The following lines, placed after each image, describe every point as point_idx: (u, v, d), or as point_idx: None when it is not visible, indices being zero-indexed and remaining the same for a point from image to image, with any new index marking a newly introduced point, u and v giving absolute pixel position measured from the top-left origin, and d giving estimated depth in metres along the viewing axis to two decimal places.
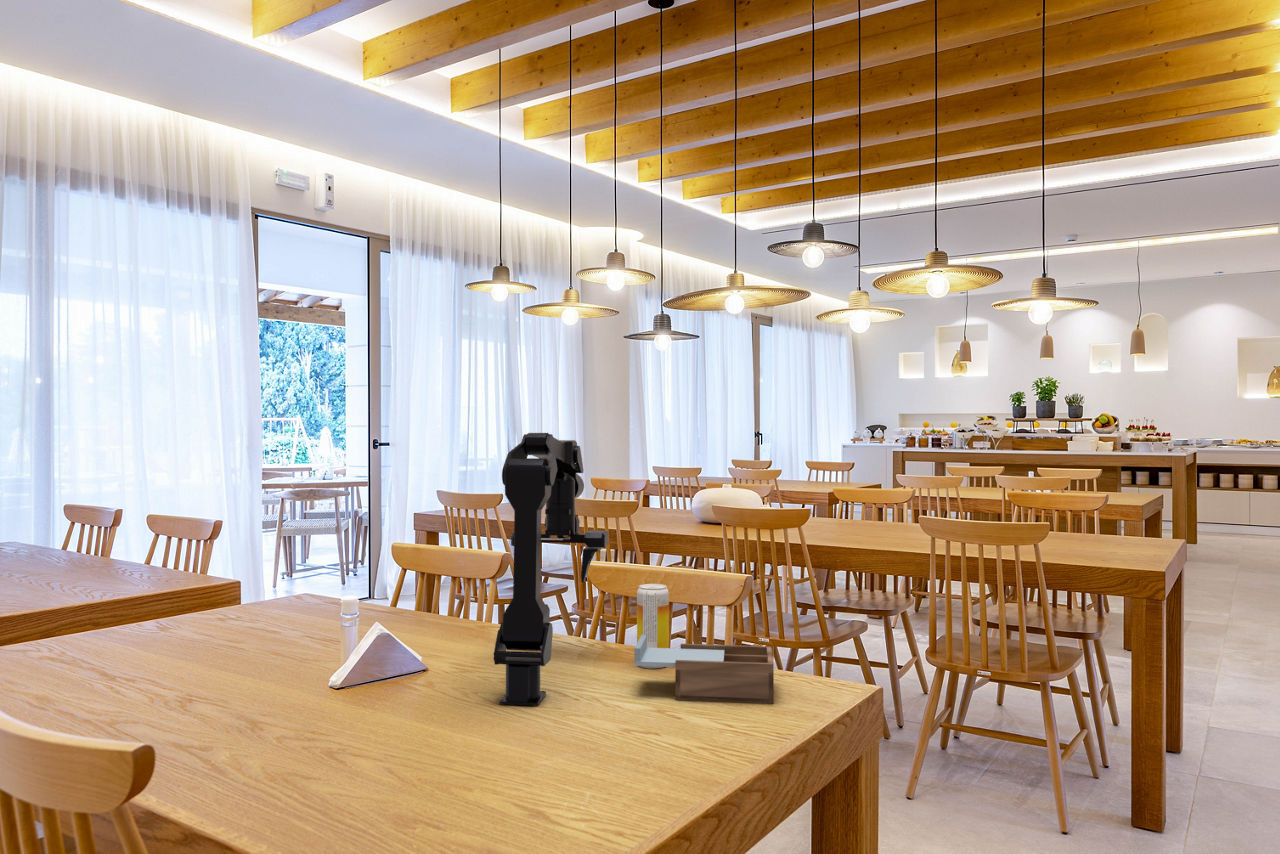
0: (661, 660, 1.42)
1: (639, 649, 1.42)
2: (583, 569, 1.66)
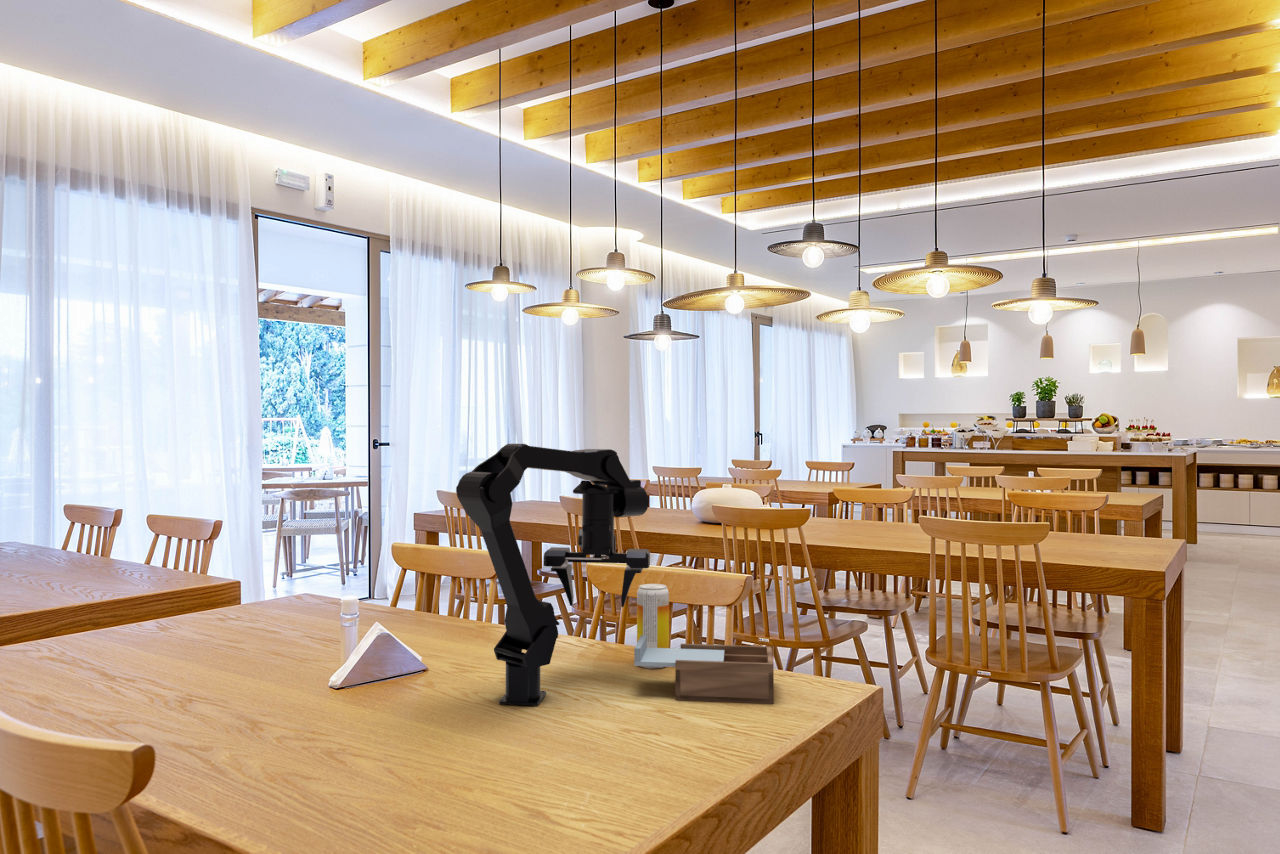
0: (661, 660, 1.42)
1: (639, 649, 1.42)
2: (624, 592, 1.50)
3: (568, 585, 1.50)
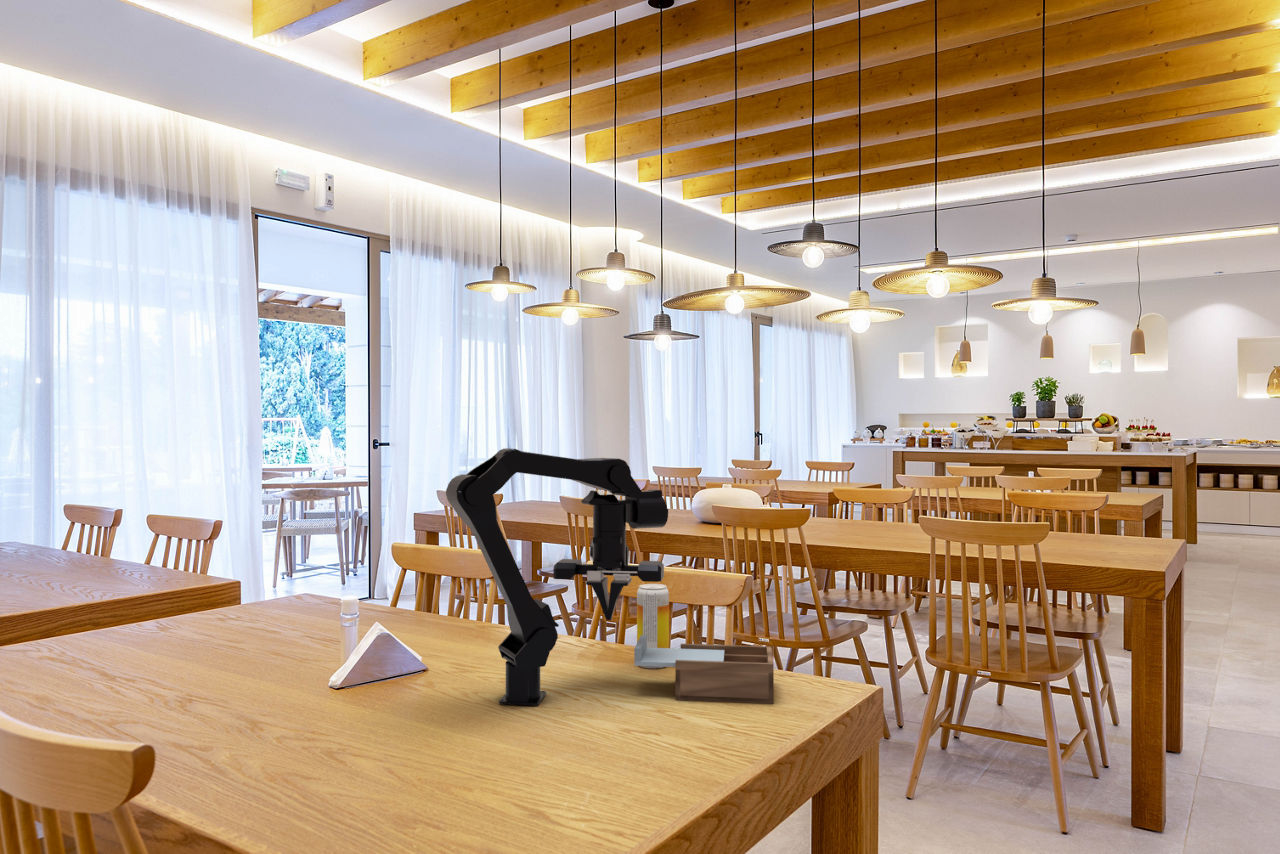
0: (661, 660, 1.42)
1: (639, 649, 1.42)
2: (610, 605, 1.45)
3: (604, 599, 1.45)
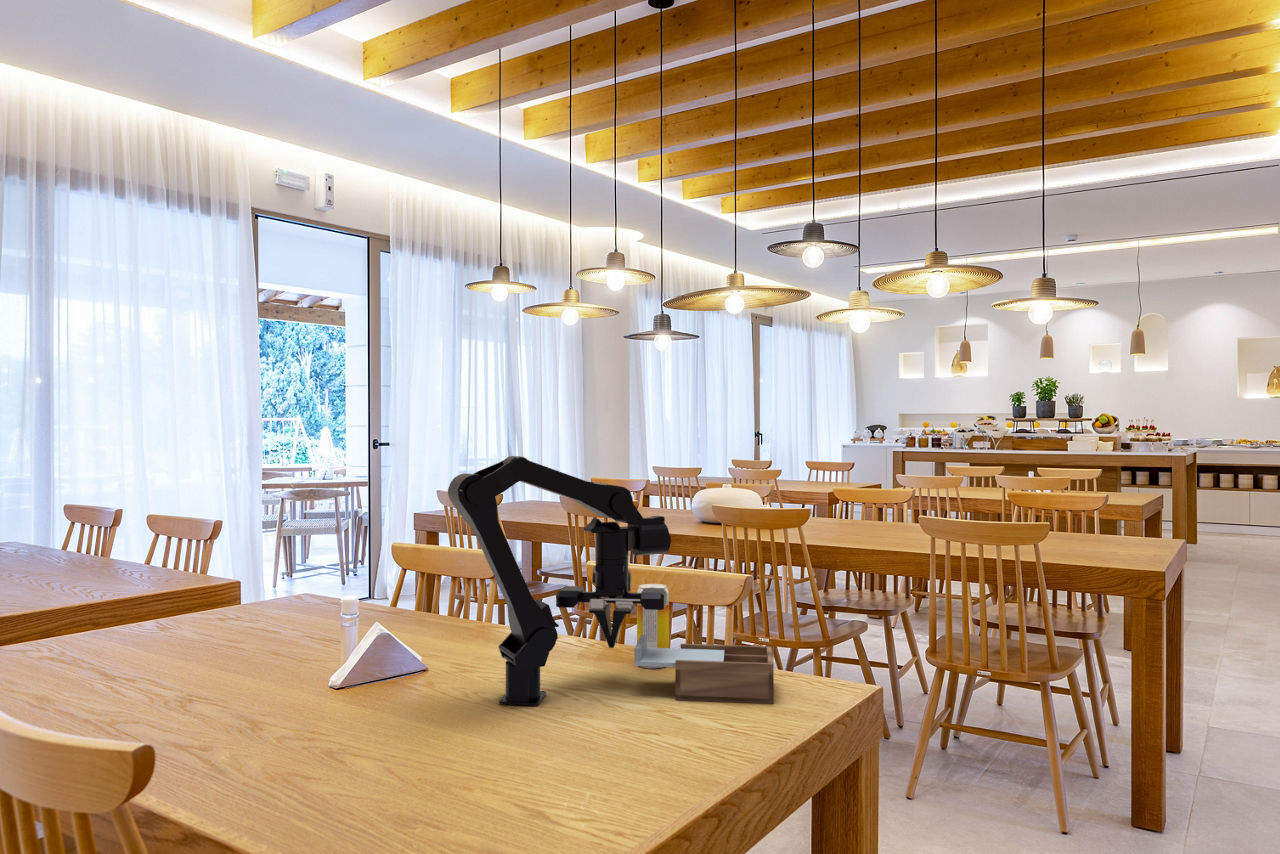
0: (661, 660, 1.42)
1: (639, 649, 1.42)
2: (613, 633, 1.45)
3: (607, 627, 1.45)
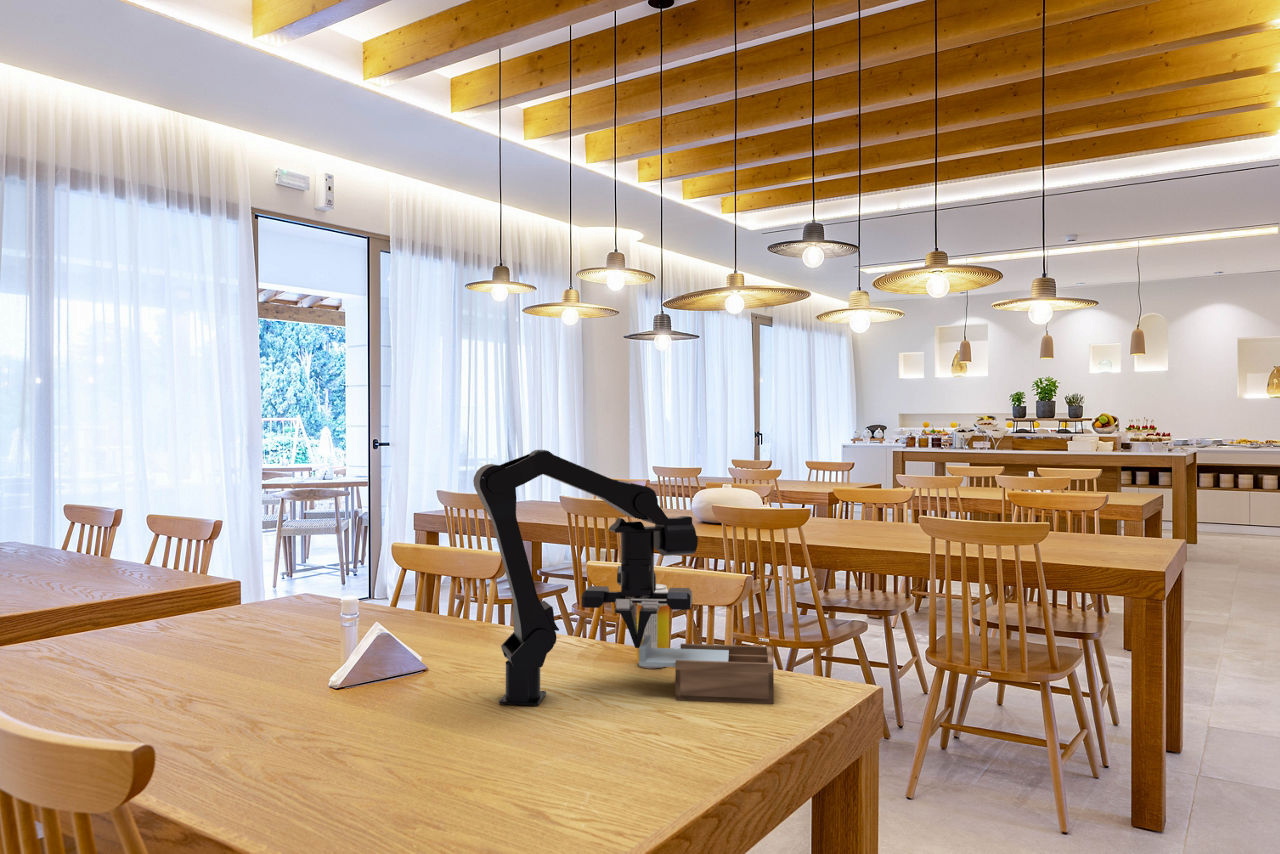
0: (666, 660, 1.42)
1: (644, 649, 1.41)
2: (639, 633, 1.45)
3: (633, 627, 1.45)
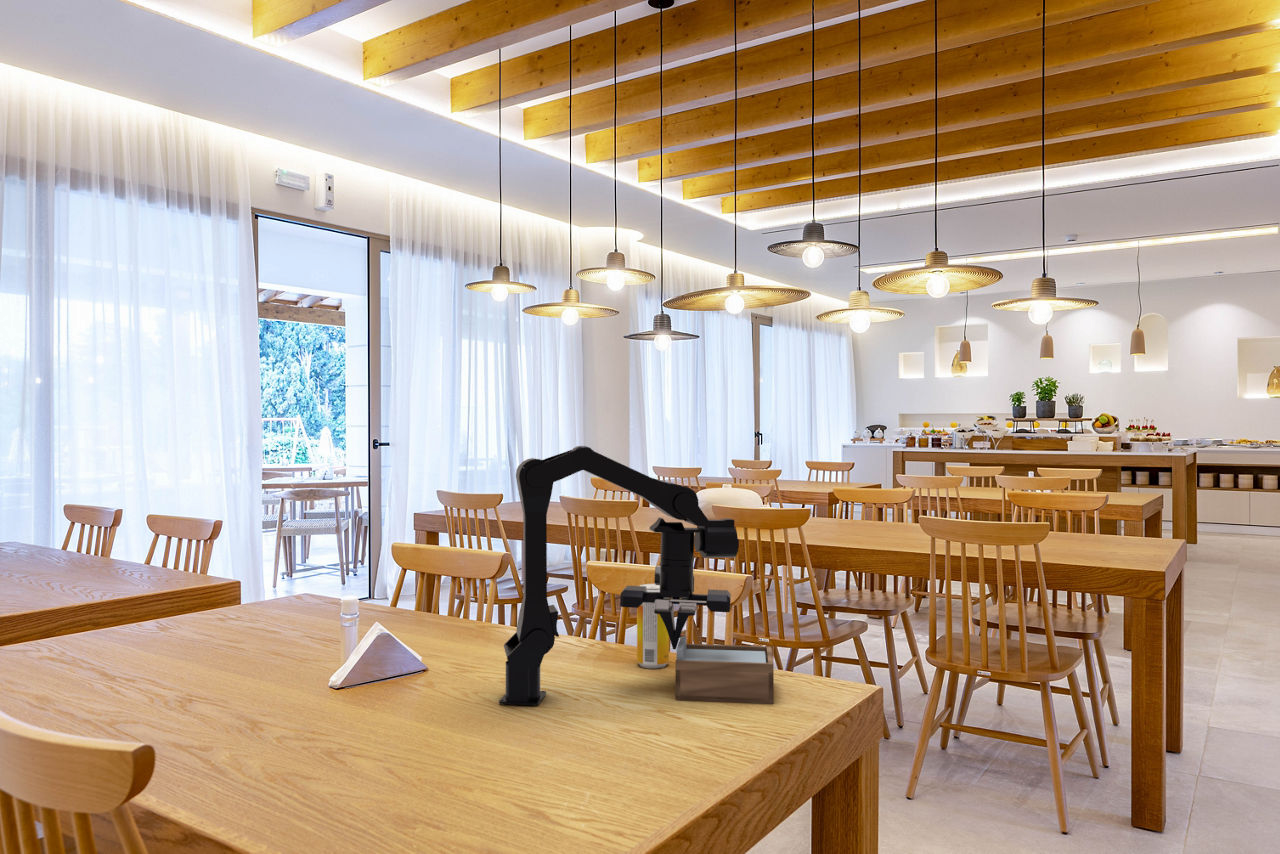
0: None
1: (681, 650, 1.41)
2: (676, 634, 1.44)
3: (672, 628, 1.44)
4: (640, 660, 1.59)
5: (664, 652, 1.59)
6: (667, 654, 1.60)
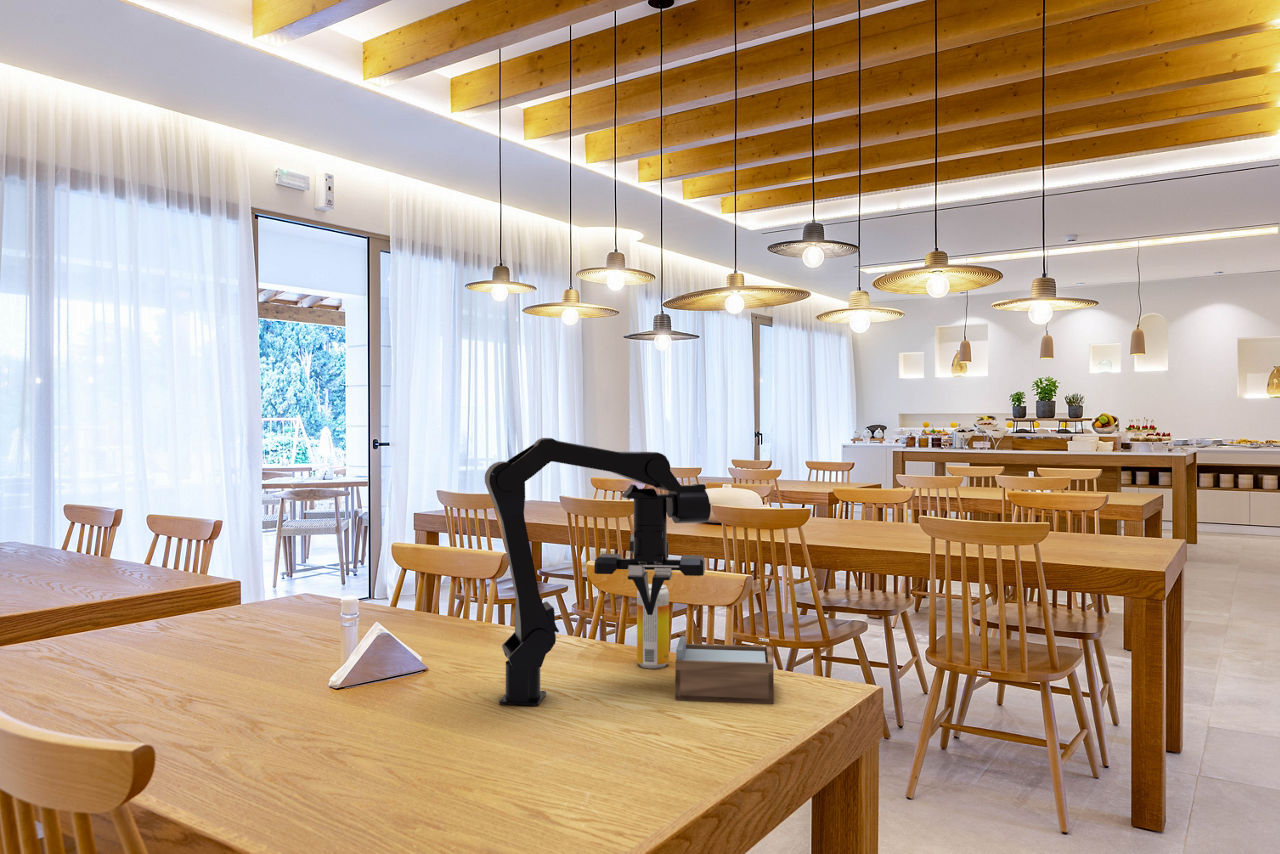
0: None
1: (681, 650, 1.41)
2: (652, 600, 1.45)
3: (645, 594, 1.44)
4: (640, 660, 1.59)
5: (664, 652, 1.59)
6: (667, 654, 1.60)
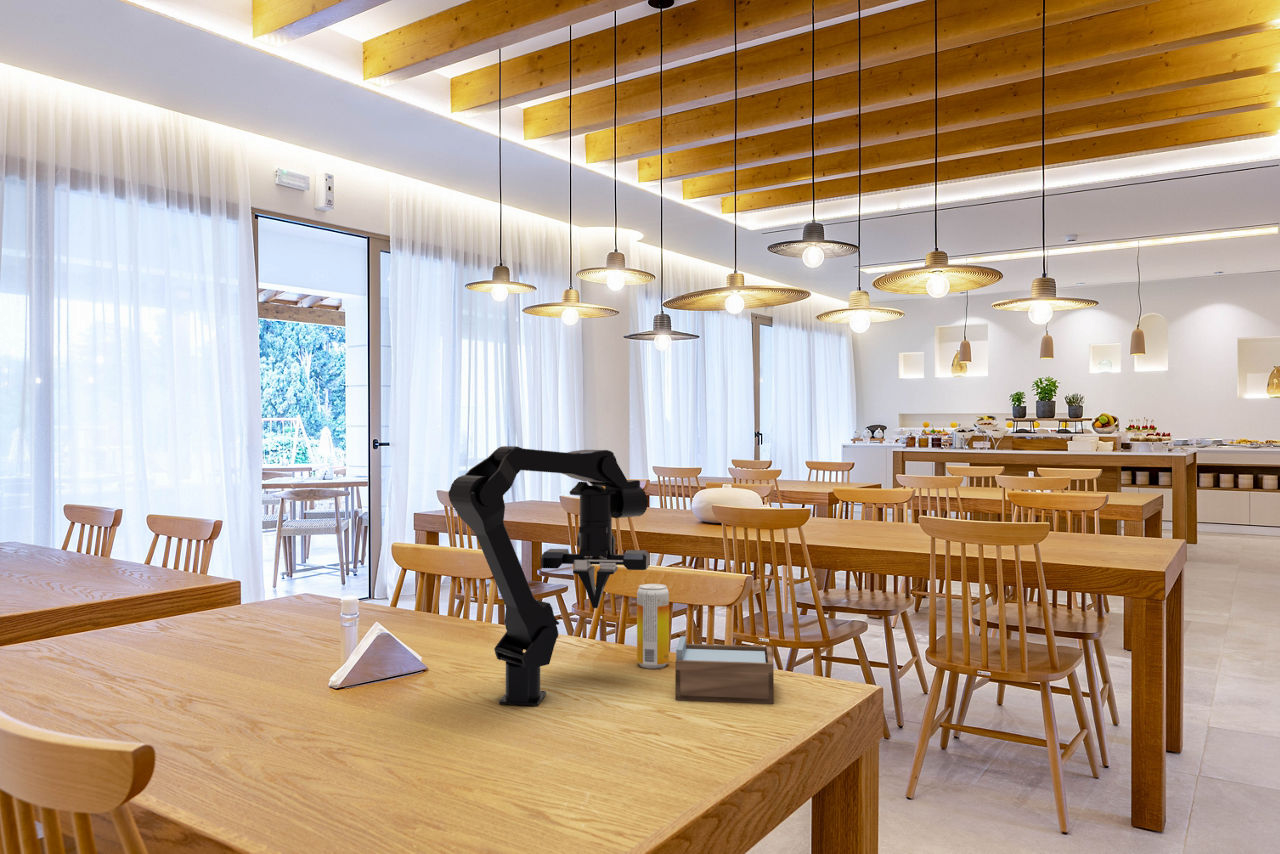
0: None
1: (681, 650, 1.41)
2: (597, 593, 1.49)
3: (590, 587, 1.49)
4: (640, 660, 1.59)
5: (664, 652, 1.59)
6: (667, 654, 1.60)
